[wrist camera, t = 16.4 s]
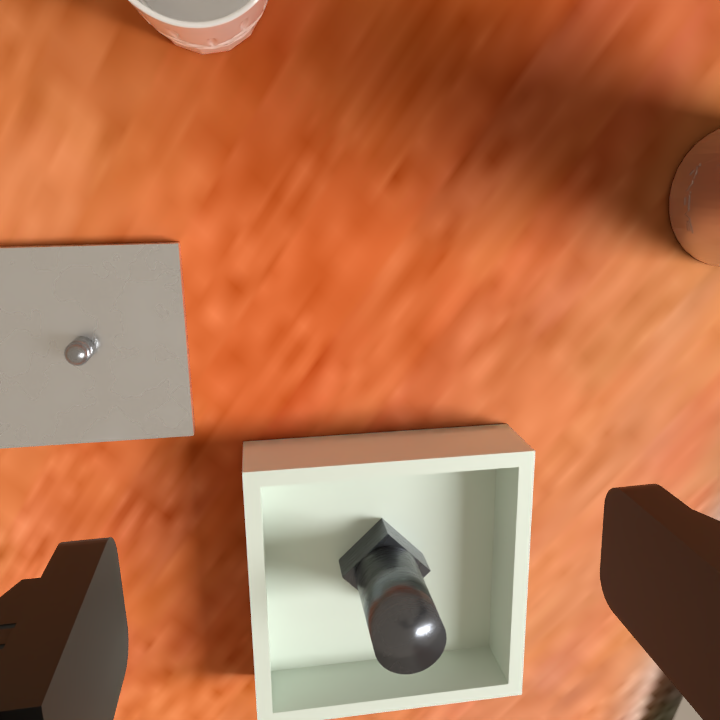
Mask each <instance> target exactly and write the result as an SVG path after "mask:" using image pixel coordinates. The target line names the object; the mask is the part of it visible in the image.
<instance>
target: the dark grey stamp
mask: <svg viewBox="0 0 720 720" xmlns="http://www.w3.org/2000/svg"><path fill="white" fill-rule="evenodd" d="M339 565H340V569H341V574H342V578H343V579H345V580H346V581H347V582H348V583H350V584H351V585H352V586H353V587H354V588H356V589H357V590H358V591H359V595H360V599H361V603H362V607H363V611H364V614H365V618H366V622H367V626H368V630H369V634H370V638H371V641H372V645H373V649H374V653H375V656H376V658H377V660H378V662H379V663H380V664H381V665H382V666H383V667H384V668H385V669H387V670H389V671H391V672H393V673H397V674H414V673H418V672H421V671H423V670H425V669H427V668H429V667H430V666H432V665H433V664H434V663H435V662H436V661H437V660H438V659H439V658H440V656H441V655H442V653H443V651H444V649H445V645H446V640H447V637H446V630H445V627H444V625H443V623H442V620H441V618H440V616H439V613H438V611H437V609H436V606H435V604H434V602H433V599H432V597H431V595H430V593H429V590H428V588H427V586H426V583H425V581H424V579H423V578H424V577H425V576H426V575H427V574H428V573H429V572H430V571H431V570H430V568H429V566H428V564H427V562H426V559H425V557H424V555H423V553H421V552H420V551H419V550H418V549H417V548H416V547H415V546H413V545H412V544H411V543H410V542H409V541H408V540H407V539H405V538H404V537H403V536H402V535H401V534H400V533H399V532H397V531H396V530H395V529H394V528H393V527H392V526H391V525H390V524H388V523H387V522H386V521H385V520H384V519H383V518H381V519H380V520H379V521H378V522H377V523H376V524H375V525H374V526H373V527H372V528H371V529H370V530H369V531H368V532H367V533H366V534H364V535H363V536H362V537H361V538H360V539H359V540H358V541H357V542H356V543H355V544H354V545H353V546H352V547H351V548H350V549H349V550H348V551H347V552H346V553H345V554H344V555H343V556H342V557H341V558H340V559H339Z"/></svg>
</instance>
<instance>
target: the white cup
mask: <svg viewBox="0 0 720 720" xmlns="http://www.w3.org/2000/svg"><path fill="white" fill-rule="evenodd" d="M128 1H129V2H130V3H131V5H132V6H133V7H134V8H135V9H136V10H137V11H138V12H139V13H140V14H141V16H142V17H143V18H144V19H145V20H146V21H147V22H148V23H149V24H150V25H152V26H153V27H154V28H155V29H156V30H157V31H158V32H160V33H161V34H162V35H164V36H166V37H167V38H168V39H169V40H171V41H172V42H173V43H174V44H175V45H176V46H179V47H182V48H185V49H188V50H191V51H194V52H197V53H200V54H210V53H217V52H224V51H230V50H231V49H233V48H234V47H235V46H237V45H238V44H239V43H241V42H242V41H243V40H245V39H246V38H248V37H249V36H250V35H251V34H252V32H253V30H254V28H255V26H256V24H257V22H258V20H259V19H260V17H261V16H262V14H263V12H264V10H265V7H266V4H267V2H268V0H128Z"/></svg>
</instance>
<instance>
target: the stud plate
mask: <svg viewBox="0 0 720 720" xmlns="http://www.w3.org/2000/svg"><path fill="white" fill-rule="evenodd" d="M194 433H195V423H194V410H193V398H192V385H191V373H190V360H189V348H188V335H187V323H186V310H185V298H184V285H183V273H182V260H181V248H180V242H160V243H122V244H84V245H47V246H9V247H0V448H14V447H30V446H45V445H60V444H75V443H90V442H106V441H121V440H136V439H151V438H166V437H181V436H194Z"/></svg>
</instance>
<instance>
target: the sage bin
mask: <svg viewBox="0 0 720 720" xmlns="http://www.w3.org/2000/svg"><path fill="white" fill-rule="evenodd" d="M534 464H535V450H534V449H533V448H532V447H531V446H530V445H528V444H527V443H526V442H525V441H524V440H523V439H522V438H521V437H520V436H519V435H518V434H517V433H516V432H515V431H514V430H513V429H512V428H511V427H510V426H509V425H508V424H494V425H479V426H464V427H450V428H435V429H420V430H405V431H391V432H376V433H361V434H346V435H331V436H317V437H302V438H287V439H272V440H258V441H243V460H242V480H243V496H244V512H245V528H246V544H247V560H248V576H249V592H250V608H251V624H252V640H253V656H254V672H255V688H256V704H257V720H325V719H333V718H341V717H349V716H357V715H365V714H373V713H381V712H388V711H396V710H404V709H412V708H420V707H428V706H436V705H444V704H451V703H459V702H467V701H475V700H483V699H491V698H499V697H507V696H515V695H522V681H523V663H524V645H525V627H526V609H527V591H528V572H529V554H530V536H531V518H532V500H533V482H534ZM381 518H383V519H384V520H385V521H386V522H387V523H388V524H390V525H391V526H392V527H393V528H394V529H395V530H396V531H397V532H399V533H400V534H401V535H402V536H403V537H404V538H405V539H407V540H408V541H409V542H410V543H411V544H412V545H413V546H415V547H416V548H417V549H418V550H419V551H420V552H421V553H423V555H424V557H425V559H426V562H427V564H428V566H429V568H430V570H431V571H430V572H429V573H428V574H427V575H426V576H425V577H424V578H423V579H424V581H425V583H426V586H427V588H428V590H429V593H430V595H431V597H432V599H433V602H434V604H435V606H436V609H437V611H438V613H439V616H440V618H441V620H442V623H443V625H444V627H445V630H446V637H447V640H446V645H445V649H444V651H443V653H442V655H441V656H440V658H439V659H438V660H437V661H436V662H435V663H434V664H433V665H432V666H430V667H429V668H427V669H425V670H423V671H421V672H418V673H414V674H397V673H393V672H391V671H389V670H387V669H385V668H384V667H383V666H382V665H381V664H380V663H379V662H378V660H377V658H376V656H375V653H374V649H373V645H372V641H371V638H370V634H369V630H368V626H367V622H366V618H365V614H364V611H363V607H362V603H361V599H360V595H359V591H358V590H357V589H356V588H354V587H353V586H352V585H351V584H350V583H348V582H347V581H346V580H345V579H343V578H342V574H341V569H340V565H339V559H340V558H341V557H342V556H343V555H344V554H345V553H346V552H347V551H348V550H349V549H350V548H351V547H352V546H353V545H354V544H355V543H356V542H357V541H358V540H359V539H360V538H361V537H362V536H363V535H364V534H366V533H367V532H368V531H369V530H370V529H371V528H372V527H373V526H374V525H375V524H376V523H377V522H378V521H379V520H380V519H381Z"/></svg>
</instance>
